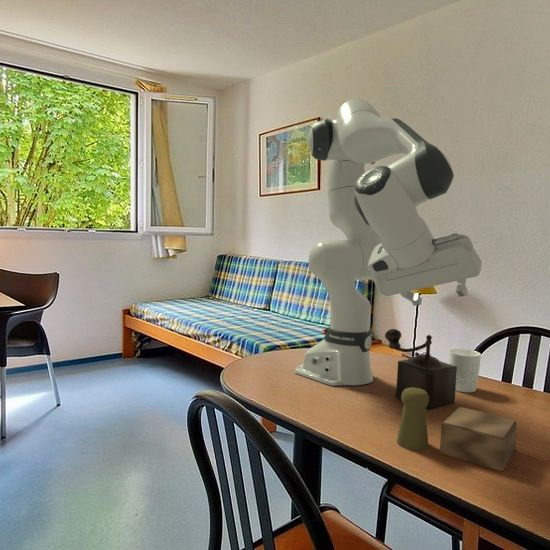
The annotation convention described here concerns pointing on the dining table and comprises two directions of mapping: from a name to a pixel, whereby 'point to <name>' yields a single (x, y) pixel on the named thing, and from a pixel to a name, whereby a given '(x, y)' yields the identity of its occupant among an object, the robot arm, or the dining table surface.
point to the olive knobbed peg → (413, 420)
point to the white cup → (465, 368)
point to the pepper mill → (424, 373)
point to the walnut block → (478, 438)
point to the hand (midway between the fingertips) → (440, 298)
